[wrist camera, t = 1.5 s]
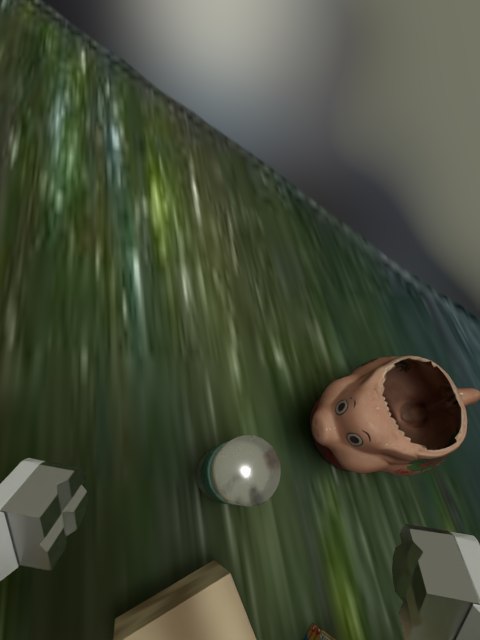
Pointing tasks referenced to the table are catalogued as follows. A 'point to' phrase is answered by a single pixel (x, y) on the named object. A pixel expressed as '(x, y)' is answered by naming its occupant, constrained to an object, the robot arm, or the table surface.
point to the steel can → (239, 472)
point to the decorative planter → (391, 417)
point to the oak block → (190, 611)
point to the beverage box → (317, 634)
